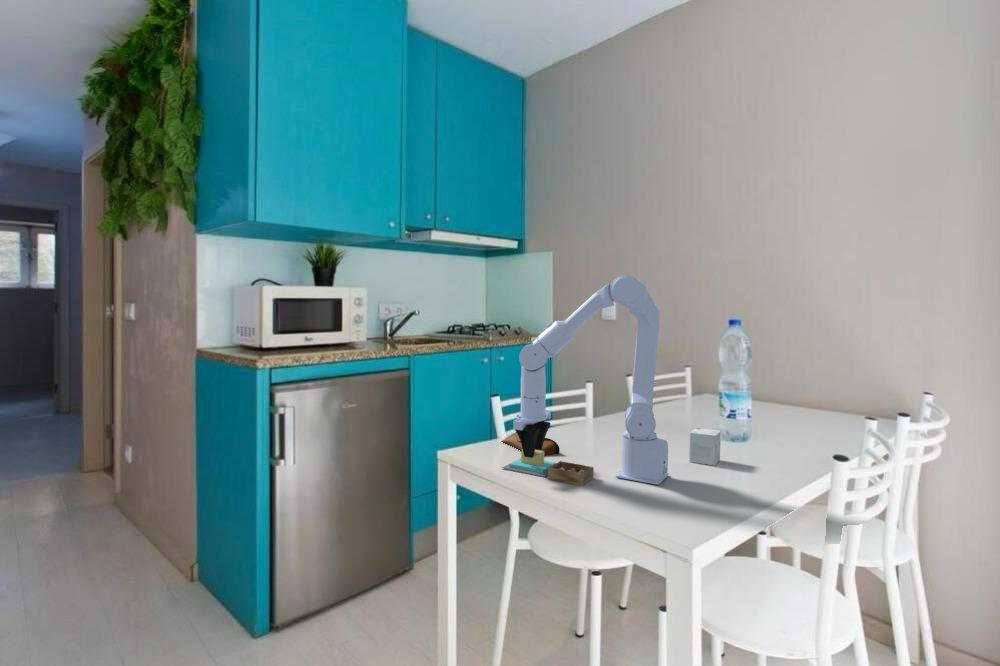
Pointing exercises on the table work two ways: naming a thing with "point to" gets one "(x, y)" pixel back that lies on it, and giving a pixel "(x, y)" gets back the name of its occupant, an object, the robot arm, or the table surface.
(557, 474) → the box
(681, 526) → the table surface
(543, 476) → the mat
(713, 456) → the skincare box
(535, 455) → the lid
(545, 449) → the sunglasses case
